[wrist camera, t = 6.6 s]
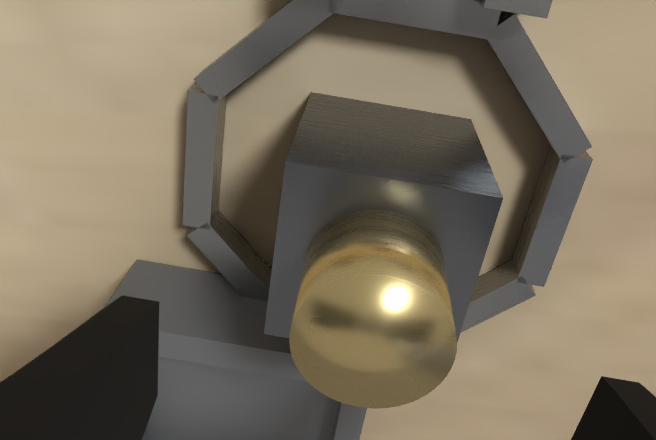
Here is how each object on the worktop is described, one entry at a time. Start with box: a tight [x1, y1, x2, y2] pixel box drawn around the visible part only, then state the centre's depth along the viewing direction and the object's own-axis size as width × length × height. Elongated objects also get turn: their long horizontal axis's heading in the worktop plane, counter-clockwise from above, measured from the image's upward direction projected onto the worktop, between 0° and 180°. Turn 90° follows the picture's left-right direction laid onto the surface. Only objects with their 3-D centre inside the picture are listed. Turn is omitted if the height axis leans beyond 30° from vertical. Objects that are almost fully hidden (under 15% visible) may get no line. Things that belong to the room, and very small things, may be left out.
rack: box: [104, 260, 367, 440], centre depth 20 cm, size 8×9×3 cm
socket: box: [183, 0, 593, 333], centre depth 16 cm, size 11×12×2 cm
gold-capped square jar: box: [264, 92, 503, 408], centre depth 14 cm, size 4×4×8 cm
